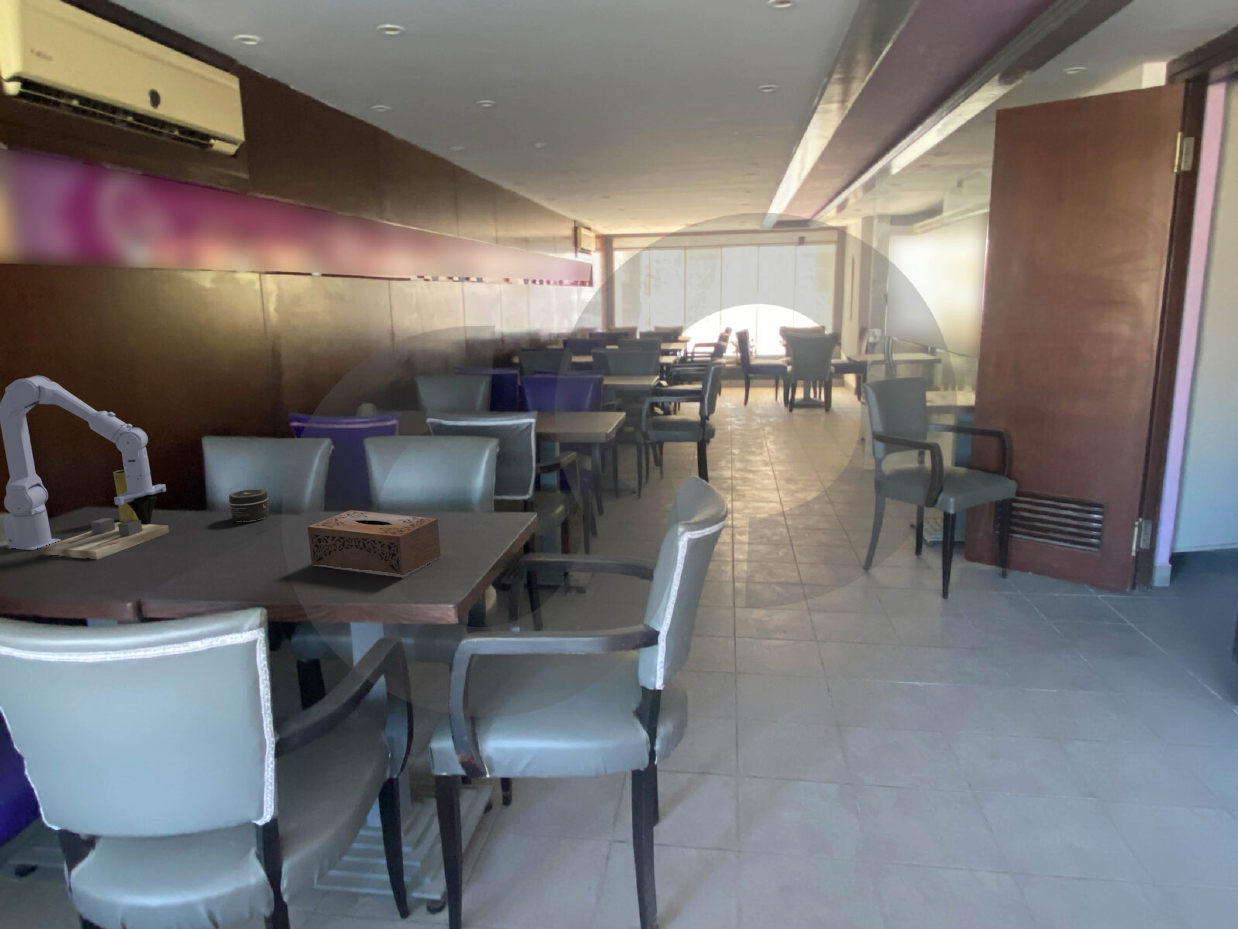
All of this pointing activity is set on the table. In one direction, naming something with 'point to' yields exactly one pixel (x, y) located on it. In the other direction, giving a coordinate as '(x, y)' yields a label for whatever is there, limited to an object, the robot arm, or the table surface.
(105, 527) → the inner knob
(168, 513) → the table surface
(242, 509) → the jar
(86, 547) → the wooden board
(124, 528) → the outer knob
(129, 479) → the robot arm
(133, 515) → the vase
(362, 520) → the tissue box cover
